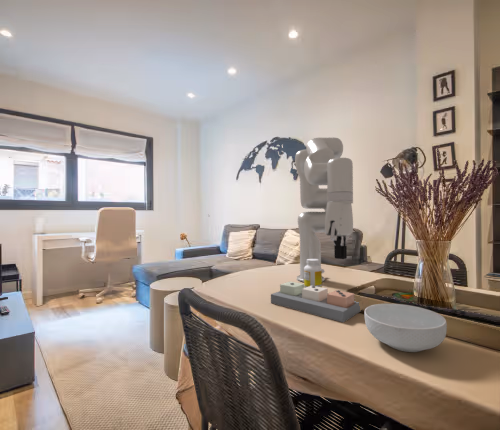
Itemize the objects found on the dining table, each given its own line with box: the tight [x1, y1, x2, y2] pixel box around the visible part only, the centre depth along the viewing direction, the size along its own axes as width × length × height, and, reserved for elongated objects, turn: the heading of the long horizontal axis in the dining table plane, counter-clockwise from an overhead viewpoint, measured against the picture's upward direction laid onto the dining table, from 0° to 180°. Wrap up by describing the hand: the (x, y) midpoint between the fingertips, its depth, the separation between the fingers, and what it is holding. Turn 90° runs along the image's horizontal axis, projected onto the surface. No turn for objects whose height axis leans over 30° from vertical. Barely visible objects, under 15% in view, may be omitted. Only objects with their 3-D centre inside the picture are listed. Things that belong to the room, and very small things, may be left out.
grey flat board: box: [270, 290, 361, 323], centre depth 92 cm, size 14×26×3 cm, turn 47°
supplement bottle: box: [303, 259, 323, 288], centre depth 109 cm, size 7×7×13 cm
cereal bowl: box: [364, 303, 448, 353], centre depth 65 cm, size 17×17×7 cm
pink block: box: [327, 289, 355, 308], centre depth 86 cm, size 6×6×4 cm
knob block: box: [279, 281, 304, 296], centre depth 98 cm, size 6×6×4 cm
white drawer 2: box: [302, 286, 328, 302], centre depth 92 cm, size 6×6×4 cm
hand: (340, 258), depth 86 cm, fingers closed
